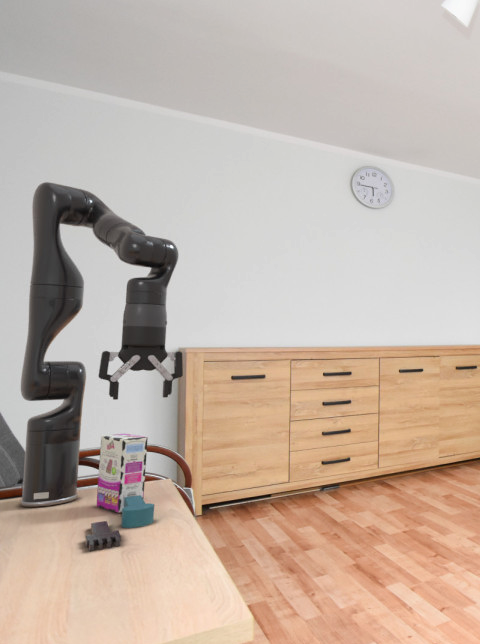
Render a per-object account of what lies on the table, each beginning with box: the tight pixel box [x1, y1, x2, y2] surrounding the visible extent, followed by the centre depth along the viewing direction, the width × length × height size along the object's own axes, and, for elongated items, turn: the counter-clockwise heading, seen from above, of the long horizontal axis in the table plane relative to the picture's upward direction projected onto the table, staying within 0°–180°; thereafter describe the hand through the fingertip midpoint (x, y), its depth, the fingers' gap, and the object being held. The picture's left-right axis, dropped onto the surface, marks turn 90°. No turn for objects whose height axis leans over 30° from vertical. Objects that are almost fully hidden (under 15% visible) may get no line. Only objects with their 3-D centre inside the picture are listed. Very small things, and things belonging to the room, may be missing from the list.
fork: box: [84, 520, 121, 552], centre depth 109 cm, size 16×5×1 cm, turn 45°
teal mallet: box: [120, 495, 155, 529], centre depth 120 cm, size 14×5×4 cm, turn 45°
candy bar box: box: [96, 433, 149, 514], centre depth 129 cm, size 11×5×16 cm, turn 62°
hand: (140, 398), depth 123 cm, fingers open, 8 cm apart
